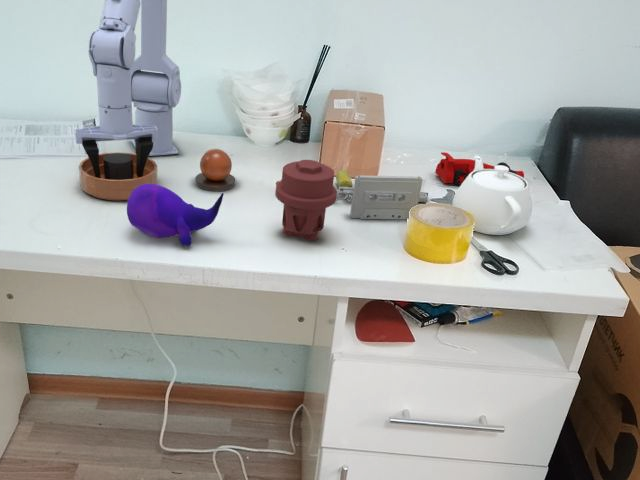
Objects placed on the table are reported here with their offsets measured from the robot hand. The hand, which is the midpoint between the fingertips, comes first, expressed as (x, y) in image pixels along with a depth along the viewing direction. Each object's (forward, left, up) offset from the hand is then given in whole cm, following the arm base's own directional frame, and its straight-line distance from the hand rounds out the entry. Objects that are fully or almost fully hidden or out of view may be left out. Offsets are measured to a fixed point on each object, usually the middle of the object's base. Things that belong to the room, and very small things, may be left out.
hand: (119, 178), depth 133 cm
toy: (+22, +5, -2) cm, 23 cm away
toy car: (+11, +72, -2) cm, 73 cm away
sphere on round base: (+2, +18, -2) cm, 18 cm away
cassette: (+23, +43, -2) cm, 49 cm away
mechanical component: (+26, +26, -2) cm, 37 cm away
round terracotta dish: (0, 0, -2) cm, 2 cm away
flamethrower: (+12, +42, -2) cm, 44 cm away
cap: (0, 0, -1) cm, 1 cm away
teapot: (+29, +61, -2) cm, 68 cm away
